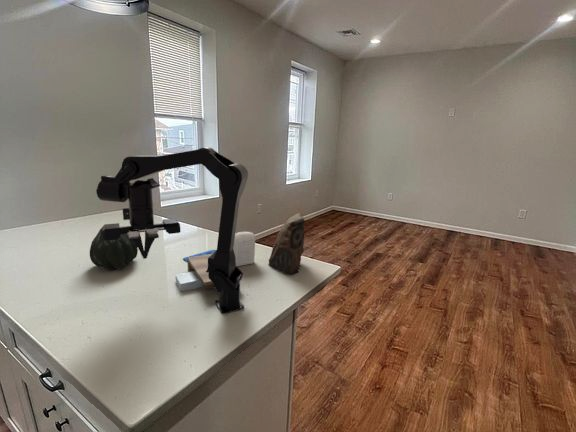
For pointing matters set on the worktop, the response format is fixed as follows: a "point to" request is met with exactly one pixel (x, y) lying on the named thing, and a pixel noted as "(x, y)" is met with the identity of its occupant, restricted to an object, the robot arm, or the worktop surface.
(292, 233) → the owl
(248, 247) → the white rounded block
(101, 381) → the worktop surface
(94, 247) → the squash
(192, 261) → the tan cardboard box
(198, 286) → the pale blue eraser
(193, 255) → the handheld gaming device
